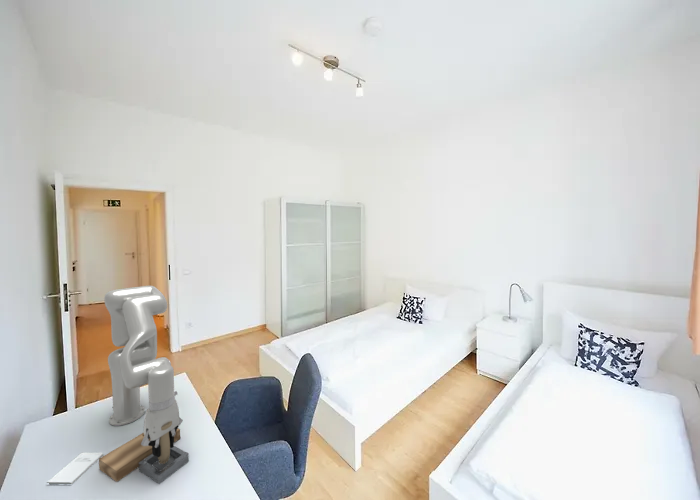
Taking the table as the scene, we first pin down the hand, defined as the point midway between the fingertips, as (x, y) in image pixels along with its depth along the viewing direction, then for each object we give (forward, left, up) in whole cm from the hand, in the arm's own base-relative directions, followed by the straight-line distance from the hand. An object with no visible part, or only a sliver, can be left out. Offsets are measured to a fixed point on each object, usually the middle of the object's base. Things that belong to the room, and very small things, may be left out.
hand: (163, 450), depth 102 cm
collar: (0, 0, -6) cm, 6 cm away
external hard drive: (-26, -14, -7) cm, 30 cm away
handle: (0, 0, -4) cm, 4 cm away
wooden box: (-13, 0, -6) cm, 14 cm away
